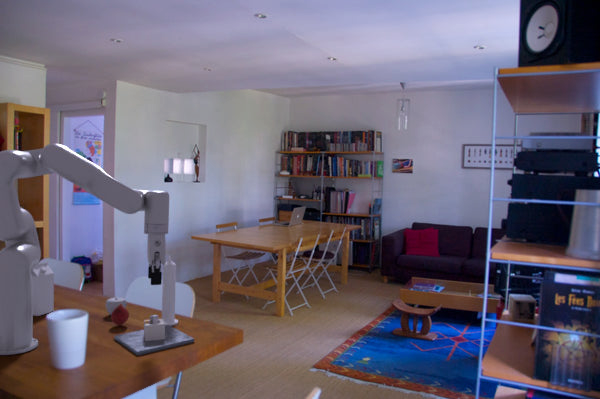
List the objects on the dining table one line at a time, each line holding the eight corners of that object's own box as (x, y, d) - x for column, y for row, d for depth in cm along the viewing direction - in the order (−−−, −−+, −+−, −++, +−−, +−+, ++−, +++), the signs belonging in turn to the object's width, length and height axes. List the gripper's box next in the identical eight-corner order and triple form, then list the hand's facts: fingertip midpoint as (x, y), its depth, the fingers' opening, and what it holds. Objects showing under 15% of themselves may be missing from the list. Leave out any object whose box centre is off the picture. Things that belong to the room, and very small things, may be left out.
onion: (122, 329, 163) (122, 306, 163) (107, 327, 165) (108, 305, 164) (131, 324, 169) (132, 302, 169) (117, 322, 170) (117, 301, 170)
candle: (182, 322, 174) (183, 255, 172) (169, 327, 167) (170, 257, 166) (167, 319, 177) (168, 253, 175) (153, 324, 170) (155, 255, 169)
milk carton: (23, 313, 177) (24, 263, 176) (40, 309, 184) (40, 261, 183) (37, 316, 174) (37, 265, 174) (53, 311, 181) (54, 262, 180)
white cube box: (164, 339, 152) (165, 322, 152) (145, 341, 149) (145, 323, 149) (162, 333, 157) (163, 316, 157) (143, 335, 155) (144, 318, 155)
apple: (112, 319, 174) (112, 301, 174) (100, 315, 179) (100, 297, 179) (131, 314, 181) (131, 297, 180) (119, 310, 185) (119, 294, 185)
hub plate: (137, 355, 140) (137, 328, 140) (114, 339, 154) (114, 314, 153) (194, 342, 153) (194, 317, 153) (168, 328, 166) (168, 305, 166)
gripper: (171, 232, 145) (169, 286, 146) (165, 226, 161) (163, 275, 162) (146, 232, 142) (144, 288, 143) (142, 225, 158) (140, 276, 159)
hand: (154, 281), depth 152 cm, fingers open, 9 cm apart
